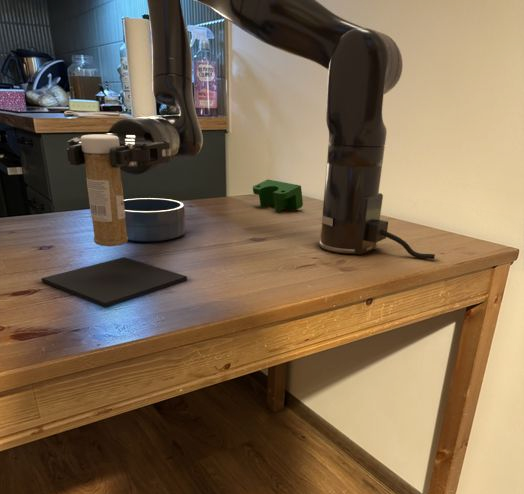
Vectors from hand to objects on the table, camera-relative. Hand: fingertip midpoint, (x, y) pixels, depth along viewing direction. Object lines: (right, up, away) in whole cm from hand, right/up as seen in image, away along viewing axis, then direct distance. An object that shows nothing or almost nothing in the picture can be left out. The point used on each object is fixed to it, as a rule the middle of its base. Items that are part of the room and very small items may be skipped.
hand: (92, 157), depth 60 cm
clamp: (+24, +11, +60) cm, 66 cm away
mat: (0, -14, +10) cm, 17 cm away
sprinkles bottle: (0, -9, +8) cm, 12 cm away
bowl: (-1, -1, +34) cm, 34 cm away
